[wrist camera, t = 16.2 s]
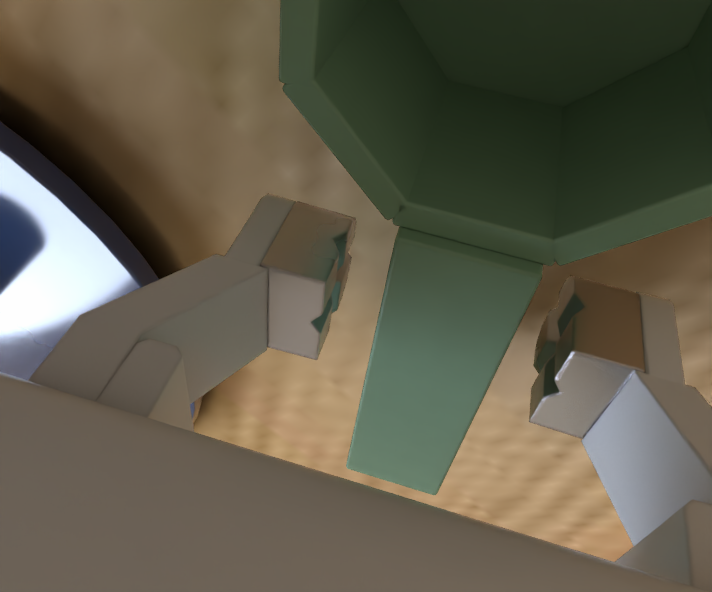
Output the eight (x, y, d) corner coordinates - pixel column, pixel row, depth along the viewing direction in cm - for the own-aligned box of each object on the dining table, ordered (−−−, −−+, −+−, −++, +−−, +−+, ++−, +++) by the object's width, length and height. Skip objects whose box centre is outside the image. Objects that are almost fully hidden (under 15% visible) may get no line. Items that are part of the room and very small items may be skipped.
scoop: (405, -385, 6) (277, -423, 4) (900, -303, 6) (1143, -281, 3) (325, 304, 14) (266, 444, 12) (533, 362, 14) (519, 523, 11)
